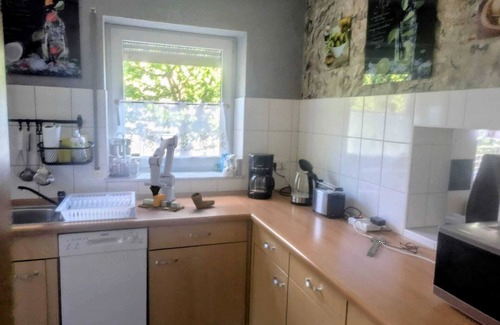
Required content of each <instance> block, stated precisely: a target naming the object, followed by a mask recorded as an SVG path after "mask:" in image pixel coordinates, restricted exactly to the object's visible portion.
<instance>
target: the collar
mask: <svg viewBox="0 0 500 325" xmlns="http://www.w3.org/2000/svg"><path fill="white" fill-rule="evenodd" d="M152 197H153V198H152V199H153V206H157V207H158V206H160V201H161V200H163V201H165V194H161V193H158V195H156V196H153V195H152Z"/></svg>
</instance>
